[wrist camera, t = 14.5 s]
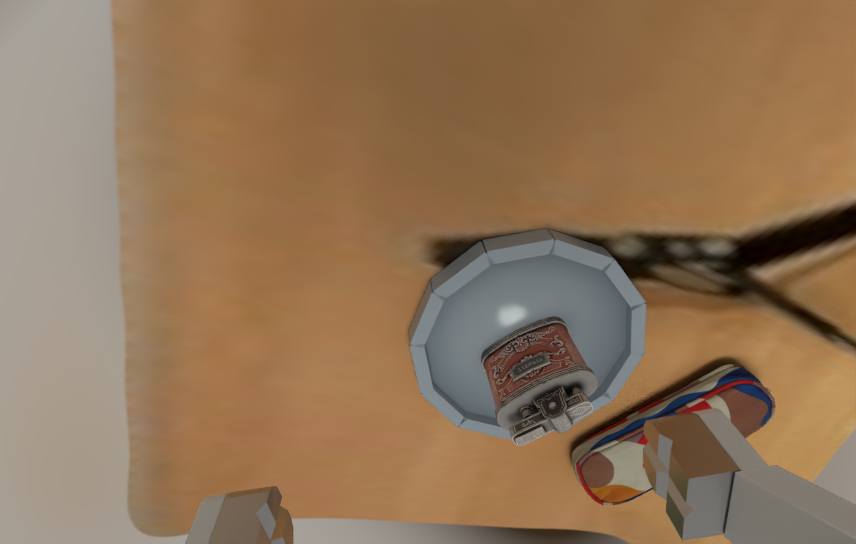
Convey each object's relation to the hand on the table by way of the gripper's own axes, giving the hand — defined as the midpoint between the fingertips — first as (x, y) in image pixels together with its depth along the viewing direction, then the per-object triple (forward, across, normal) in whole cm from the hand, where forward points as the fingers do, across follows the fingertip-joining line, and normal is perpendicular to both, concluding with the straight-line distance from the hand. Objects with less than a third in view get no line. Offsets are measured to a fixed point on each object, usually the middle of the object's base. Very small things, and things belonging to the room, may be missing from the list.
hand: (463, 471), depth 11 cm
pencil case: (+30, -20, +31) cm, 47 cm away
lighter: (+28, -7, +18) cm, 34 cm away
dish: (+29, -7, +18) cm, 35 cm away
